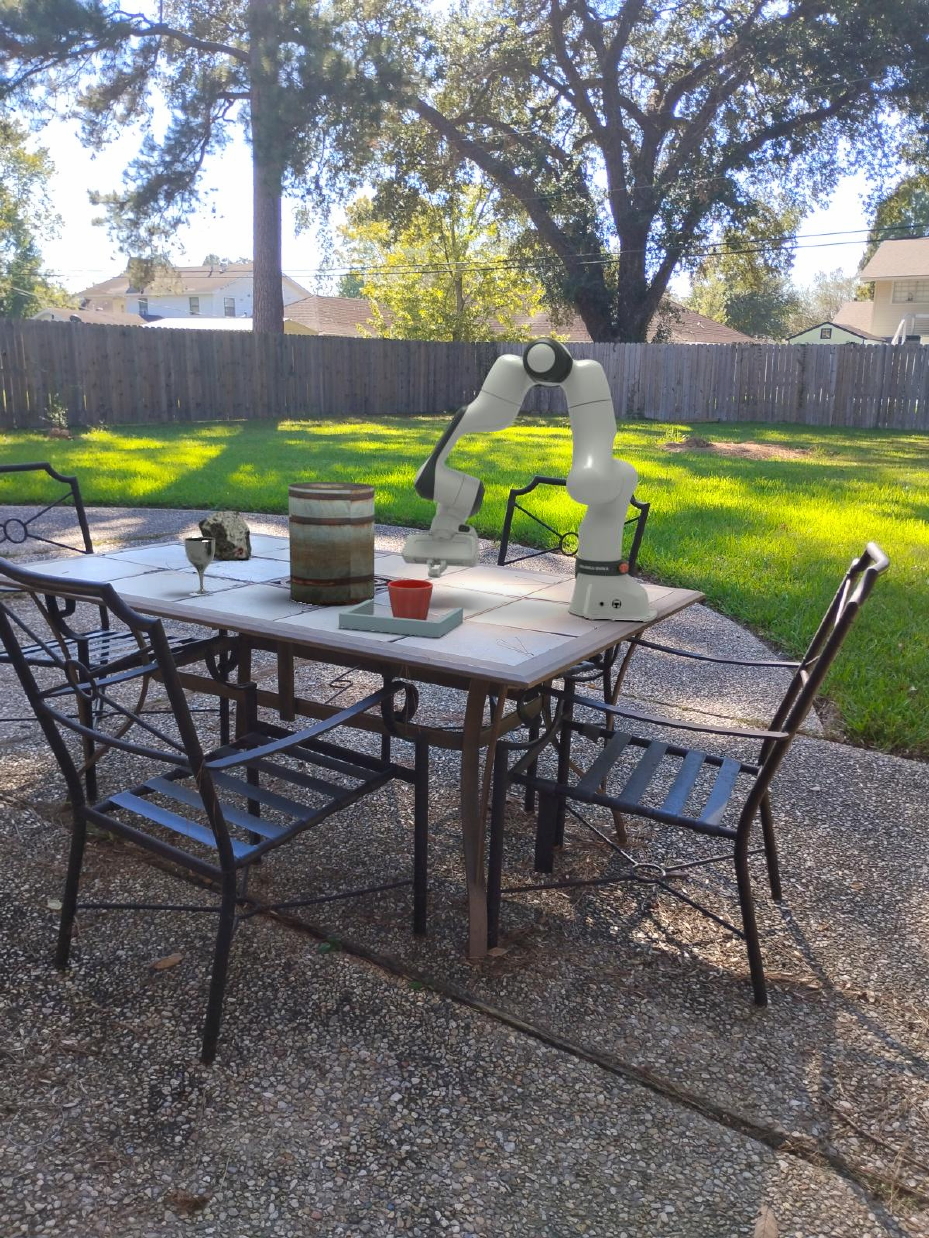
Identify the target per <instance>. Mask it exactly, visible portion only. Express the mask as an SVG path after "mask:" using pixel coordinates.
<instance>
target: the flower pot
mask: <svg viewBox="0 0 929 1238" xmlns="http://www.w3.org/2000/svg"><path fill="white" fill-rule="evenodd" d="M433 587H434V585H433V583H432V582H430V581H428V580H422V579H398V580H392V581H390V582H388V583H387V592H388V597H389V602H390V609H391V613H392V617H395V618H406V619H416V620H427V621H428V614H429V609H430V603H431V599H432V593H433Z"/></svg>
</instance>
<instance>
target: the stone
mask: <svg viewBox="0 0 929 1238" xmlns="http://www.w3.org/2000/svg"><path fill="white" fill-rule="evenodd" d="M197 525H198V528H199V530H200V533H201V537H212V538H215V554H214V555H215V556H214V557H216V558H217V559H218V560H220V561H221V560H226V561H229V560H231V561H232V562H237V561H238V560H241V559H248V558H250V557H252V545H251V538H250V536H251V530H250V527H249V526H248V524H247V523H246V522H245V520H244V518H243V517H242V516H241V514H240V512H239V511H236V510H234V511H233V510H226V511H216V512H213V513H211V515H209V516H207V517H206V518H204V519H203V520H201V521H199V522H198V524H197Z"/></svg>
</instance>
